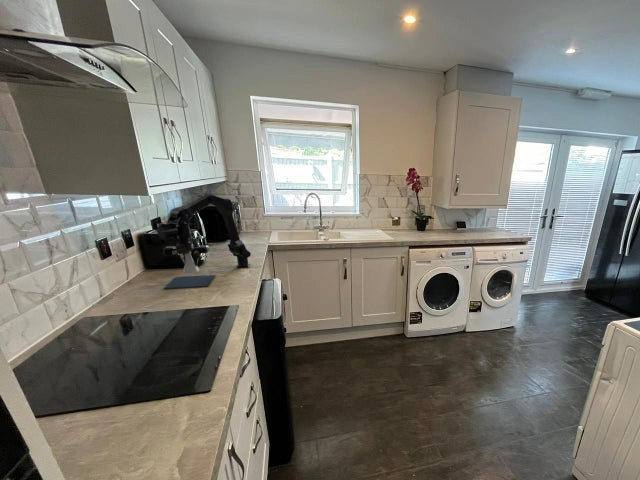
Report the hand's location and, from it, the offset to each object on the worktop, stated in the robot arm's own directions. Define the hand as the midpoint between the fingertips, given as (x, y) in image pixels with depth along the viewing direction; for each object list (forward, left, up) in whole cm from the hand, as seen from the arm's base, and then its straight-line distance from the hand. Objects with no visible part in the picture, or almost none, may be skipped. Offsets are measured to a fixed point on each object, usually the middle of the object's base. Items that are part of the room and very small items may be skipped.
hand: (190, 266), depth 163 cm
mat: (+3, 0, -7) cm, 8 cm away
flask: (0, 0, -3) cm, 3 cm away
